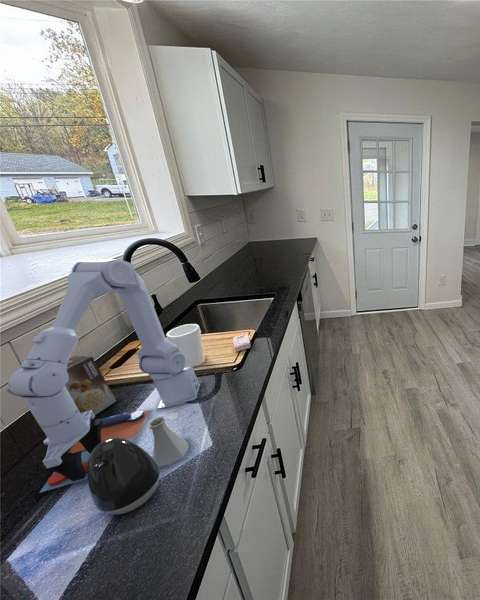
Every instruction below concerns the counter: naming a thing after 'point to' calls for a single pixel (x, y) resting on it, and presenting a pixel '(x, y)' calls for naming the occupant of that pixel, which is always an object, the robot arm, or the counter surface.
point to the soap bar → (241, 342)
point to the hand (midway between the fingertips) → (88, 464)
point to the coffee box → (87, 385)
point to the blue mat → (84, 458)
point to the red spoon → (62, 477)
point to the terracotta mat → (116, 432)
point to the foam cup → (188, 343)
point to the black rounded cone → (121, 476)
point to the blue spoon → (122, 418)
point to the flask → (166, 443)
